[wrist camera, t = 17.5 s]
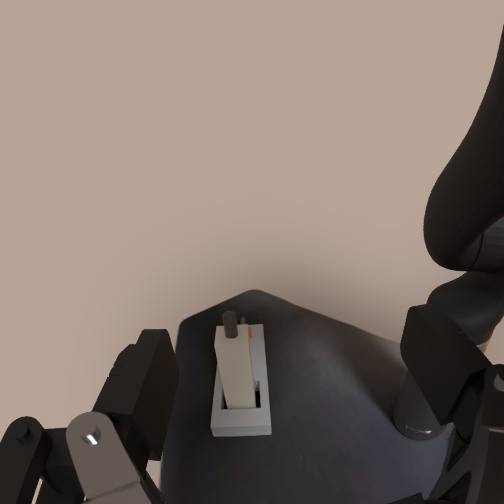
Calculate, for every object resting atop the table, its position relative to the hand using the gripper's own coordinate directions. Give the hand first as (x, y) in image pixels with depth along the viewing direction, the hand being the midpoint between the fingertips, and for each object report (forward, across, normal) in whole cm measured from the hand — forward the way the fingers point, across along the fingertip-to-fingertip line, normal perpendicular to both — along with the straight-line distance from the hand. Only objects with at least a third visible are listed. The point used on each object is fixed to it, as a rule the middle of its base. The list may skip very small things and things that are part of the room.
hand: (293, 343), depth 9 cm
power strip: (+31, +5, +30) cm, 43 cm away
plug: (+22, +5, +30) cm, 38 cm away
